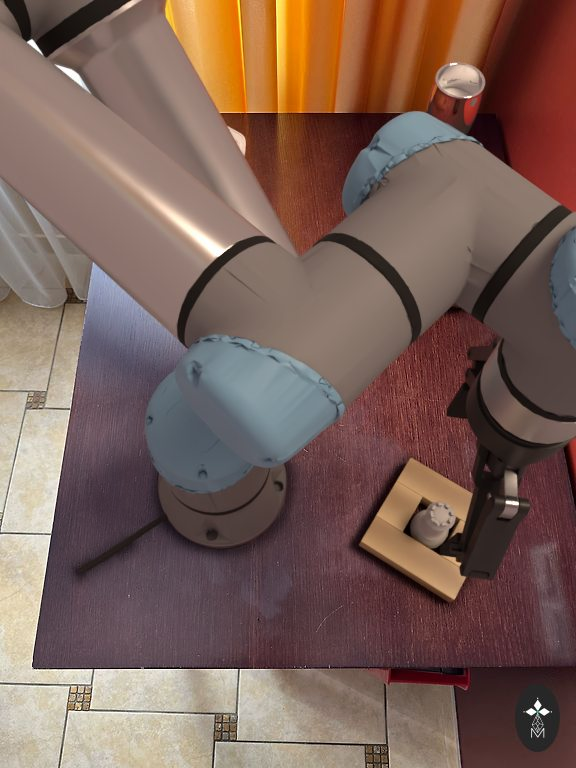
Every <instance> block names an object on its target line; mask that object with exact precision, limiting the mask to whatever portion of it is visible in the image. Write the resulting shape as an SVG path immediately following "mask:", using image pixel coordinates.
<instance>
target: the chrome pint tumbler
mask: <svg viewBox="0 0 576 768" xmlns="http://www.w3.org/2000/svg"><path fill="white" fill-rule="evenodd" d="M485 86H486V78H485V76H484V74H483V72H481V70H480V69H478V67H476V66H475V65H472V64H469V63H466V62H461V61H460V62H459V61H457V62H450V63H447V64H444V65H442V66H441V67H440V68H439V69H438V70H437V72H436V73H435V77H434V80H433V83H432V86H431V89H430V92H429V96H428V99H427V104H426V109H425V110H426V111H425V113H428V114H429V115H431V116H433V117H435V118H436V119H438V120H440V121H442V122H444V123H447V124H449V125H450V126H452V127H453V128H455V129H457V130H458V131H460V132H461V133H463V134H465V135H466V136H468V133H469V131H470V130H471V128H472V126H473V124H474V122H475V120H476V117H477V115H478V112H479V109H480V106H481V102H482V99H483V93H484V89H485Z"/></svg>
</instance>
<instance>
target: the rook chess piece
mask: <svg viewBox="0 0 576 768" xmlns="http://www.w3.org/2000/svg"><path fill="white" fill-rule="evenodd" d="M455 519H456V517H455V512H454V510H453V509H452V507H451V506H450V505H448V504H447V503H445V502H441V501H439V502H434V503H432V504H430V505H429V507H426V509H423V510H420V511H419V512H417V513H416V514H415V515H414V516H413V517H412V519H410V520H411V521H410V526H409V531H410V535H411V538H413V539H414V540H416V541H418V542H419V543H421V544H422V545H424V546H426V547H427V548H429V549H436V548H438V547H441V546H442V545H443V544H444V543H445V542H446V541H447V539H448V537H449V531H450V529H451V528H453V527H454V526H455Z"/></svg>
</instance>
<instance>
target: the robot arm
mask: <svg viewBox="0 0 576 768" xmlns="http://www.w3.org/2000/svg"><path fill="white" fill-rule="evenodd" d="M167 2H168V0H0V179H1V180H2V181H4V183H6V184H7V185H8V186H9V187H10V188H11V189H12V190H14V192H16V194H18V195H19V196H20V197H21V198H22V199H23V200H24V201H26V203H28V204H29V205H30V206H31V207H32V208H33V209H34V210H35V211H37V212H38V213H39V214H40V215H41V216H42V217H43V218H44V219H45V220H46V221H47V222H49V223H50V224H51V225H52V226H53V227H54V228H55V229H56V230H57V231H58V232H59V233H60V234H62V235H63V236H64V237H65V238H66V239H67V240H68V241H69V242H70V243H71V244H73V245H74V246H75V247H76V248H77V249H78V250H79V251H81V253H82V254H83V255H84V256H86V257H87V258H88V259H89V260H90V261H91V262H92V263H94V264H95V265H96V267H98V268H99V269H100V270H101V271H102V272H103V273H104V274H105V275H107V277H109V278H110V280H112V281H113V282H114V283H115V284H116V285H117V286H118V287H120V288H121V289H122V290H123V291H124V292H125V293H126V294H127V295H128V296H130V297H131V298H132V299H133V300H134V301H135V302H136V303H137V304H138V305H139V306H140V307H141V308H143V310H144V311H146V312H147V313H148V314H149V315H150V316H151V317H152V318H153V319H154V320H155V321H157V322H158V323H159V324H160V325H161V326H162V327H163V328H164V329H165V330H167V331H168V332H169V333H170V334H171V335H172V336H173V337H174V338H175V339H176V340H177V341H179V343H180V344H181V345H182V346H183V347H184V348H186V349H187V351H186V353H185V354H184V355H182V357H181V358H180V359H179V360H178V362H177V363H176V366H175V369H174V370H173V371H171V372H169V374H168V375H166V377H165V378H164V379H162V381H161V382H160V383H159V384H158V385H157V387H156V388H155V389H154V392H153V393H152V395H151V397H150V399H149V402H148V405H147V408H146V411H145V412H146V413H145V418H144V432H145V439H146V446H147V450H148V454H149V458H150V459H151V462H152V465H153V466H154V469H155V470H156V471H157V472H158V473H159V474H158V480H157V492H158V498H159V503H160V505H161V506H160V507H161V508H162V511H163V513H162V514H161V515H159V516H158V517H156V518H155V519H153V520H152V521H150V522H148V523H147V524H146V525H144V526H143V527H142V528H140V529H138V530H137V531H135V532H133V533H132V534H131V535H130V536H128V537H126V538H125V539H124V540H122V541H121V542H119V543H117V544H116V545H115V546H112V547H111V548H110V549H108V550H107V551H105V552H104V553H102V554H101V555H98V556H96V557H95V558H93V559H91V560H90V561H88V562H87V563H85V564H83V565H82V566H80V567H79V568H77V569H76V570H77V573H78V574H79V575H80V576H81V575H83V574H84V573H86V572H88V571H90V570H91V569H93V568H94V567H97V566H98V565H100V564H102V563H103V562H104V561H106V560H108V559H109V558H111V557H112V556H114V555H116V554H117V553H119V552H121V551H122V550H123V549H125V548H126V547H128V546H129V545H131V544H132V543H134V542H135V541H136V540H138V539H139V538H141V537H142V536H144V535H145V534H147V533H148V532H150V531H151V530H153V529H154V528H156V527H157V526H159V525H160V524H162V523H163V522H165V521H166V520H168V522H169V523H170V524H171V525H172V527H173V528H174V529H175V530H176V531H177V532H178V533H179V534H180V535H181V536H182V537H183V538H185V539H187V541H188V540H189V541H190V542H193V543H194V544H197V545H199V546H203V547H205V548H211V549H231V548H232V549H233V548H236V547H237V548H238V547H240V546H243V545H246V544H248V543H251V542H252V541H255V540H256V539H258V538H259V537H261V536H262V535H264V533H265V532H267V531H268V530H269V529H270V528H271V527H272V525H273V524H274V523H275V522H276V520H277V518H278V517H279V515H280V513H281V512H282V510H283V506H284V504H285V502H286V501H285V500H286V496H287V488H288V481H287V478H288V476H287V469H286V465H285V463H287V462H288V461H289V460H290V459H292V458H294V456H296V455H297V454H298V453H299V452H301V451H302V450H303V449H304V448H305V447H306V446H308V445H309V444H310V443H311V442H313V441H314V439H316V438H317V437H318V436H319V435H321V434H322V432H324V431H325V430H326V429H328V428H329V427H331V426H333V425H334V424H336V422H337V421H339V420H340V419H342V417H343V415H344V414H345V411H347V409H348V408H349V407H350V406H351V405H352V404H353V403H354V402H355V401H356V400H357V399H358V398H359V397H360V396H362V394H363V393H364V392H365V391H366V390H367V389H368V388H369V387H370V386H371V385H372V384H373V383H374V382H375V381H376V380H377V378H378V377H379V376H380V375H381V374H382V373H383V372H384V371H385V370H386V369H388V368H389V367H390V365H392V363H394V362H395V361H396V360H397V359H398V358H399V357H400V356H401V355H402V354H403V353H404V352H405V351H406V350H407V349H409V348H410V347H411V346H412V344H414V343H415V342H417V340H418V339H419V338H420V337H422V336H423V334H425V332H426V331H428V330H429V329H430V328H431V326H433V325H434V324H435V323H436V322H437V321H438V320H439V319H440V318H441V317H442V316H443V315H444V314H445V313H447V311H448V310H449V309H450V308H451V307H452V305H453V304H457V305H458V306H459V307H461V309H462V310H463V311H465V312H466V313H468V314H469V315H471V316H472V317H473V318H475V320H477V321H478V322H480V323H481V324H483V325H485V326H487V327H488V328H489V329H491V331H493V332H495V333H496V334H497V335H498V336H499V337H494V339H492V341H491V342H490V344H489V345H474V346H469V348H468V349H467V351H466V356H467V360H468V361H471V363H472V364H471V367H467V368H466V370H465V372H464V377H465V378H464V379H465V381H463V382H462V384H461V385H460V387H459V389H458V390H457V392H456V394H455V395H454V396H453V398H452V400H451V402H450V403H449V405H448V407H447V408H446V417H448V418H456V419H464V420H467V421H468V424H469V427H470V429H471V432H472V433H473V435H474V436H475V437H476V441H475V448H476V454H475V458H474V461H473V466H472V470H471V477H472V480H473V485H474V487H473V491H472V494H473V495H472V498H471V502H470V506H469V510H468V513H467V517H466V521H465V525H464V528H463V532H462V533H459V532H457V533H456V534H455V535H454V536H452V537H451V538H450V539H449V540H448V541H447V540H446V541H447V542H446V541H444V543H443V544H442V545H440V546H439V554H440V555H441V556H448V557H455V558H456V562H459V563H461V565H460V568H459V570H460V574H461V576H465V577H466V578H474V579H480V580H486V581H487V580H488V581H494V579H495V578H496V575H497V573H498V571H499V568H500V567H501V565H502V561H503V560H504V558H505V555H506V553H507V551H508V549H509V547H510V545H511V543H512V540H513V539H514V536H515V533H516V532H517V529H518V527H519V525H520V523H521V522H522V521H523V520H524V519H525V518H526V517H527V516H528V515H529V512H530V510H531V502H530V499H529V498H528V497H523V496H519V493H518V492H519V491H518V490H519V488H520V486H521V483H522V480H523V476H524V474H525V473H526V470H527V467H528V466H531V465H533V464H537V463H539V462H543V461H545V460H547V459H550V458H551V457H554V455H556V454H558V452H560V451H561V450H563V448H565V447H566V446H567V445H568V444H570V442H572V441H573V440H574V439H575V438H576V211H572V210H571V209H569V208H568V207H566V206H565V205H563V204H561V203H560V202H559V201H557V200H556V199H554V198H553V197H551V196H550V195H549V194H547V193H546V192H545V191H543V190H542V189H541V188H539V187H538V186H536V185H535V184H533V183H532V182H530V180H528V179H527V178H526V177H524V176H523V175H521V174H520V173H518V172H517V171H516V170H514V169H513V168H512V167H510V166H509V165H507V164H506V163H504V161H502V160H501V159H500V158H498V157H497V156H495V154H493V153H491V152H490V151H489V150H487V149H486V148H485V147H484V145H483V144H482V143H481V142H480V141H479V140H477V139H476V138H474V137H473V136H470V135H469V136H468V135H465V134H463V133H461V132H460V131H458V130H457V129H455V128H453V127H452V126H450V125H449V124H447V123H444V122H442V121H440V120H438V119H436V118H435V117H433V116H431V115H429V114H428V113H426V111H418V110H417V111H416V110H413V111H408V112H404V113H401V114H400V115H397V116H396V117H393V118H392V119H391V120H389V121H388V122H386V123H385V124H384V125H382V126H381V127H380V129H378V130H377V131H376V132H375V133H374V136H373V137H372V139H371V141H370V142H369V144H368V145H367V146H366V147H365V148H364V149H361V150H360V152H359V153H358V154H357V156H356V158H355V160H354V162H353V163H352V165H351V166H350V168H349V170H348V174H347V176H346V178H345V180H344V185H343V188H342V193H341V204H342V208H343V212H344V213H345V215H346V217H345V218H344V219H343V220H342V221H341V222H339V223H338V224H337V225H336V226H335V227H333V229H331V230H330V231H329V232H328V233H327V234H325V235H324V236H322V237H321V238H320V239H318V241H316V242H315V243H314V244H313V245H312V247H310V248H309V249H307V250H306V251H305V252H304V253H302V254H301V255H300V253H299V251H298V250H297V247H296V246H295V243H294V242H293V240H292V239H291V237H290V235H289V233H288V231H287V230H286V228H285V225H284V224H283V223H282V221H281V219H280V217H279V216H278V214H277V212H276V210H275V208H274V206H273V205H272V203H271V201H270V200H269V198H268V196H267V194H266V192H265V190H264V189H263V187H262V185H261V184H260V182H259V180H258V178H257V176H256V174H255V172H254V171H253V169H252V168H251V165H250V164H249V162H248V160H247V158H246V156H245V157H244V155H243V153H242V151H241V150H240V148H239V146H238V144H237V143H236V141H235V139H234V137H233V135H232V134H231V132H230V130H229V128H228V127H229V126H228V125H227V123H226V122H225V120H224V118H223V116H222V114H221V112H220V110H219V109H218V107H217V105H216V103H215V102H214V100H213V98H212V96H211V95H210V93H209V91H208V89H207V87H206V86H205V84H204V82H203V80H202V79H201V77H200V75H199V73H198V71H197V69H196V68H195V66H194V64H193V62H192V61H191V59H190V57H189V55H188V54H187V52H186V50H185V48H184V46H183V45H182V43H181V41H180V39H179V38H178V36H177V33H176V32H175V31H174V28H173V27H172V25H171V23H170V22H169V20H168V17H167V14H166V13H167V12H166V7H167ZM30 41H33V43H34V44H35V45H36V47H37V48H38V50H39V51H38V50H37V49H36V48H34V47H33V45H31V44H30V43H29V42H30ZM58 66H59V67H58ZM60 67H62V68H65V69H69V70H71V71H73V72H74V73H76V74H77V75H78V76H79V78H80V79H81V81H82V83H83V84H84V86H85V87H86V88H87V89H85V88H84V87H83V86H82V85H80V84H79V83H78V82H77V81H76V80H74V79H73V78H72V77H71V76H69V75H68V74H67V73H66V72H65V71H64V70H62V69H60ZM227 126H228V127H227ZM485 467H487V468H488V470H485Z"/></svg>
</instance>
